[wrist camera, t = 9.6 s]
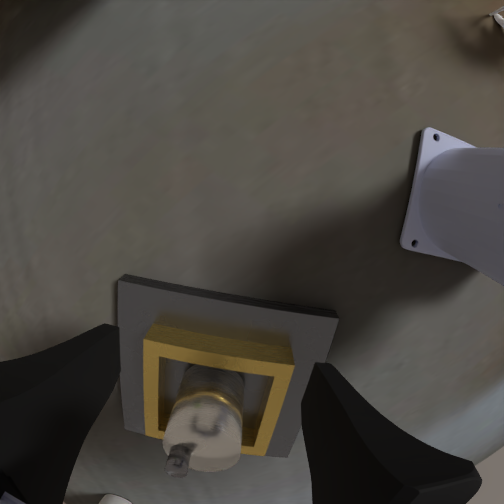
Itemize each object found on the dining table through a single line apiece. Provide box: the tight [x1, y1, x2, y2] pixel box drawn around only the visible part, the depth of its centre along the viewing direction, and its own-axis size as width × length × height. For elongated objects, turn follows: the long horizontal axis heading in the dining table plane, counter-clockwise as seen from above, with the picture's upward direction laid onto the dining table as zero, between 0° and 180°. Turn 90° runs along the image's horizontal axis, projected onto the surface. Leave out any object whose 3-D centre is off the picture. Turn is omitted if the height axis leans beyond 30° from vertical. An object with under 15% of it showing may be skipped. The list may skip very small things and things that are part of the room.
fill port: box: [118, 274, 339, 458], centre depth 20 cm, size 14×14×3 cm
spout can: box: [162, 364, 244, 478], centre depth 17 cm, size 4×4×8 cm
